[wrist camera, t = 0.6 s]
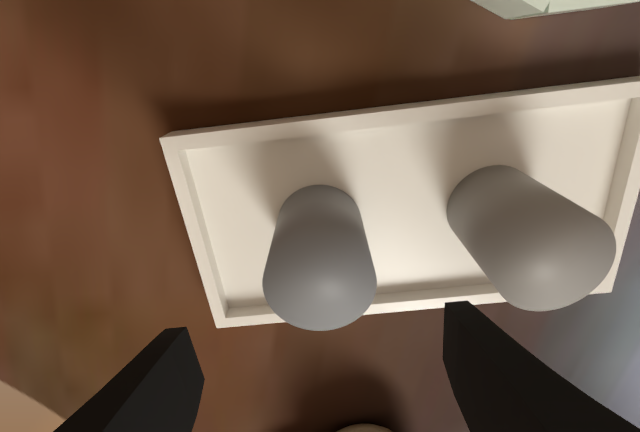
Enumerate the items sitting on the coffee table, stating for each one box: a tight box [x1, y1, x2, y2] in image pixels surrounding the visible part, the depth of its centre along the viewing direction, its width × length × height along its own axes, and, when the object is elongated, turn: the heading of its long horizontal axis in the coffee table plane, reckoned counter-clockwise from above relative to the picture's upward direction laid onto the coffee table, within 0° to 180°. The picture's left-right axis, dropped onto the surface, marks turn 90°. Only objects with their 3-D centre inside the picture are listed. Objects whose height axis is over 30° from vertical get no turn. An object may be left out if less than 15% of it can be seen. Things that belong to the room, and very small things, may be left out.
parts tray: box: [159, 76, 640, 328], centre depth 17 cm, size 20×10×1 cm, turn 97°
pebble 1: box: [262, 185, 377, 331], centre depth 15 cm, size 4×4×5 cm
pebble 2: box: [447, 165, 616, 311], centre depth 14 cm, size 4×4×5 cm
